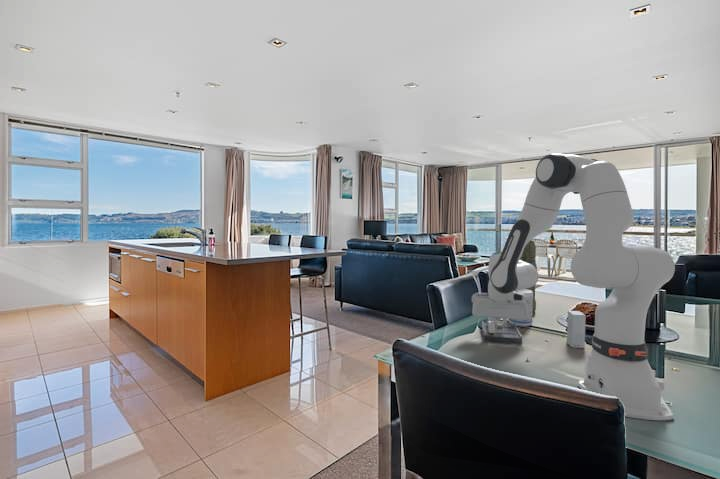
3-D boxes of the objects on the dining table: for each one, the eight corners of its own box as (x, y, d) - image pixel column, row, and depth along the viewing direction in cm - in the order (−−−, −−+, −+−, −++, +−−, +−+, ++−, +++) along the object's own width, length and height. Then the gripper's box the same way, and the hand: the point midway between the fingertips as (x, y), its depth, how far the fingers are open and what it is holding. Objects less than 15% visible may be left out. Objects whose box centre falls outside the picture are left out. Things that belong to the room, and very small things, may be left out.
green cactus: (517, 316, 176) (519, 241, 174) (513, 309, 188) (515, 239, 185) (538, 317, 174) (540, 241, 172) (532, 310, 186) (534, 239, 183)
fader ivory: (494, 333, 144) (494, 323, 144) (489, 332, 144) (489, 322, 144) (493, 330, 147) (493, 320, 147) (488, 329, 148) (488, 320, 147)
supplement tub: (504, 321, 168) (504, 288, 167) (523, 320, 169) (524, 287, 168) (516, 327, 158) (517, 293, 157) (537, 326, 160) (537, 292, 159)
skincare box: (585, 348, 134) (586, 315, 133) (571, 347, 134) (573, 314, 134) (578, 342, 139) (579, 310, 139) (566, 342, 140) (567, 310, 140)
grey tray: (522, 343, 139) (522, 337, 138) (484, 341, 142) (485, 334, 142) (514, 329, 156) (514, 323, 156) (481, 327, 159) (481, 321, 159)
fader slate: (493, 327, 151) (493, 317, 151) (488, 326, 152) (488, 317, 152) (492, 324, 155) (492, 315, 155) (487, 324, 155) (487, 315, 155)
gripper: (472, 294, 144) (471, 329, 145) (530, 296, 139) (529, 333, 140) (471, 290, 150) (470, 324, 151) (527, 293, 145) (526, 328, 146)
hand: (499, 329), depth 145 cm, fingers closed
